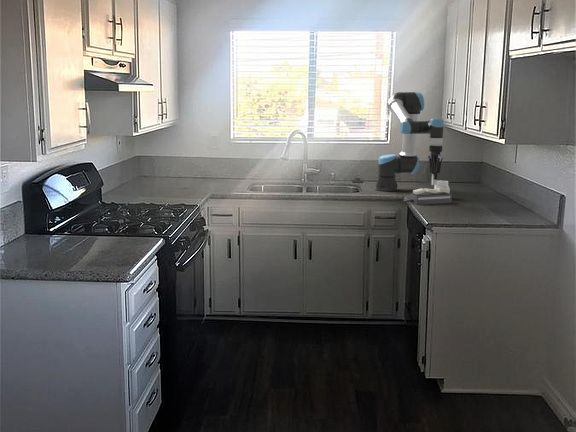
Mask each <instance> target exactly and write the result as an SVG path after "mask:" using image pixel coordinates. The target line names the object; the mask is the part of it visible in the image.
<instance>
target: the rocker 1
mask: <svg viewBox="0 0 576 432" xmlns="http://www.w3.org/2000/svg"><path fill="white" fill-rule="evenodd" d="M412 193H414V194H420V193H427V191H426V189H425V188H422V187H421V188H417V189H413V190H412Z"/></svg>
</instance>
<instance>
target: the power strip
mask: <svg viewBox="0 0 576 432" xmlns="http://www.w3.org/2000/svg"><path fill="white" fill-rule="evenodd" d="M452 194H453V193H446V192H437V193H432V192H424V193H420V194H414V193H413V192H412V193H409V199H405V200H404V199H403V200H402V202H403V203H411V204H413V205H418V206H419V205H434V204H452V199H453V195H452Z"/></svg>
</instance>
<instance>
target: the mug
mask: <svg viewBox="0 0 576 432" xmlns="http://www.w3.org/2000/svg"><path fill="white" fill-rule="evenodd" d="M433 186H434V187H433V189H435V190H436V188H442V189H447V190H449V193H450V192H451V190H450V186H449V181H448V180H441V179H440V180H438V179H437V185H433ZM438 192H441V191H438ZM450 194H451V193H450Z"/></svg>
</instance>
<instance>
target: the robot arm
mask: <svg viewBox="0 0 576 432" xmlns="http://www.w3.org/2000/svg"><path fill="white" fill-rule="evenodd" d="M386 104H387V108H388V110H389V112H390V113H392V115H394V117H395V118H396V119H397V121H398V122H399V131H400V134H402V142H401V143H402V144H401V151H400V152H399V153H398V156H397V154H394V153H392V154H383V155H380V156H379V158H378V164H377V165H378V168H377V169H378V171H377V180H376V183H375V187H374V189H375V190H376V191H380V192H382V191H383V192H395V191H398V190H399V185H398V182H397V178H396V176H397V175H403V174H404V175H407V174H408V175H411V174H415V173H417V171H418V170H419V169H420V158H419V156H418V154H417V152H416V141H417V139H416V138H417V135H419V134H420V135H421V134H422V135H425V134H426V135H429V149H428V152H429V153H430V155H428V163H429V165H428V166H429V173H431V186H434V185H437V181H438V174H440V173H441V167H442V161H443V157H441V153H442V152H443V143H444V142H443V141H444V127H445V125H444V124H445V123H444V119H443V118H433V117H432V118H431V119H430V120H422V121H421V120H418V118H419V115H420V114H421V111H422V112H423V110H424V109H425V99H424V96H423V94H422V93H421V92H417V91H405V92H404V91H402V92H401V91H400V92H395V93H393V94H391V96H389V98H388V100H387V103H386Z"/></svg>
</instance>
